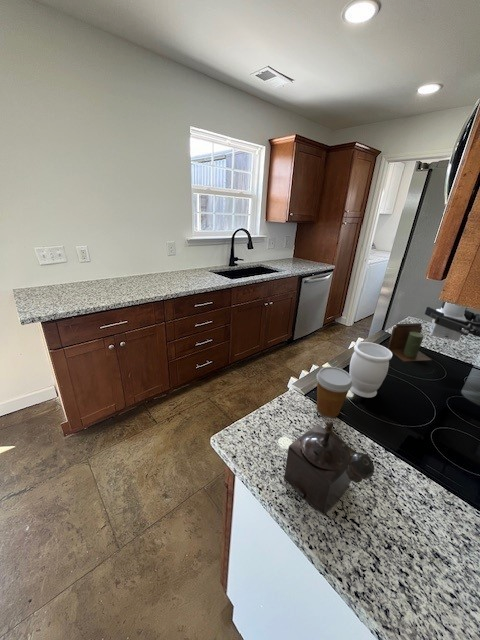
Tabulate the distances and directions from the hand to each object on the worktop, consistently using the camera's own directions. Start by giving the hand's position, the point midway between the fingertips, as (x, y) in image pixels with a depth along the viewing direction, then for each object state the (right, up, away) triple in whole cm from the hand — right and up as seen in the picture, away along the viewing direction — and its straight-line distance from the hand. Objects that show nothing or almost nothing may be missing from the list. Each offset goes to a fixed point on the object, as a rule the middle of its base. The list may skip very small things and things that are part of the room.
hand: (441, 310), depth 93 cm
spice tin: (-3, -17, +12) cm, 21 cm away
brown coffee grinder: (-53, -39, -38) cm, 76 cm away
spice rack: (-4, -18, +13) cm, 22 cm away
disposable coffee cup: (-45, -30, -16) cm, 57 cm away
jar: (-31, -26, -8) cm, 42 cm away
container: (0, -9, -1) cm, 9 cm away
